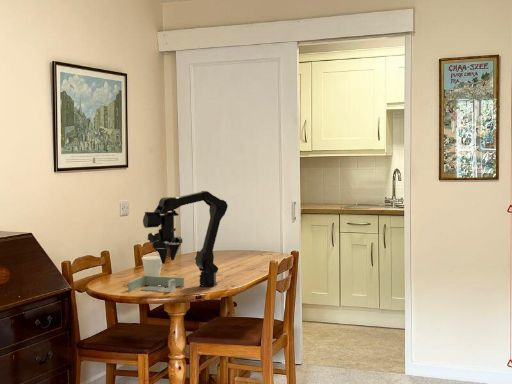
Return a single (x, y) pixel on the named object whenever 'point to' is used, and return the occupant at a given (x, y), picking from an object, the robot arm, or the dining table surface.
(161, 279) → the corner frame
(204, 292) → the dining table surface
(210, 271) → the robot arm
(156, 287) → the pad
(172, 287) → the bracket
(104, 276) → the dining table surface
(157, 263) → the cup
